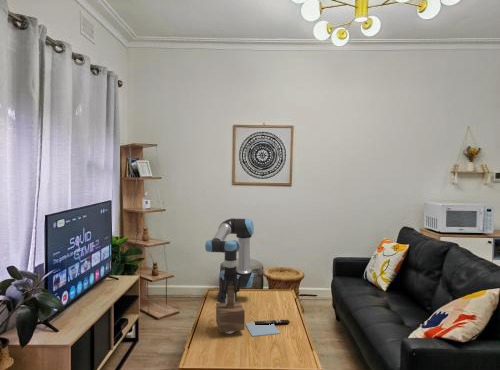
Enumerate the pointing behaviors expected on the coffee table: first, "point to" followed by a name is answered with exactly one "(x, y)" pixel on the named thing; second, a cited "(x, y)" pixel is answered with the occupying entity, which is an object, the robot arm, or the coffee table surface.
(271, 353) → the coffee table surface
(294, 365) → the coffee table surface
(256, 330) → the mat
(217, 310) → the cover
